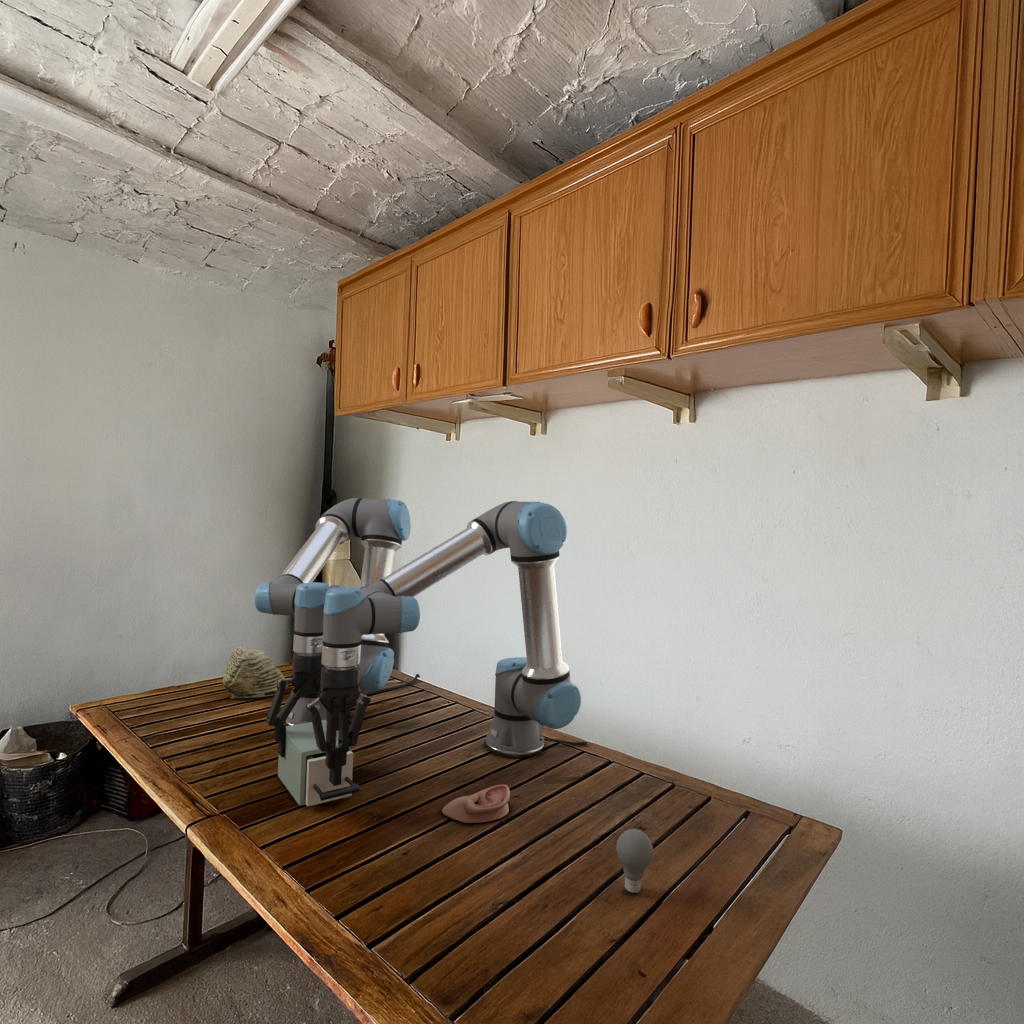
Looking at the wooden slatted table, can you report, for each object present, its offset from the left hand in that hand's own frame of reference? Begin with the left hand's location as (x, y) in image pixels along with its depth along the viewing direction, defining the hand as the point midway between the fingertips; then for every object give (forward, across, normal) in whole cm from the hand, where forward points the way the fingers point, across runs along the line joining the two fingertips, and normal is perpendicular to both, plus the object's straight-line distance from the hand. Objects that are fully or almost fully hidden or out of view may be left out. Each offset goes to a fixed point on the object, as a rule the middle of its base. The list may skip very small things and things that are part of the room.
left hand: (307, 749), depth 143 cm
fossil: (+6, +4, +65) cm, 65 cm away
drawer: (+5, 0, -11) cm, 12 cm away
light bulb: (+6, +33, -69) cm, 76 cm away
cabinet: (+6, 0, -4) cm, 8 cm away
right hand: (0, 0, -19) cm, 19 cm away
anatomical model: (+6, +25, -32) cm, 41 cm away
